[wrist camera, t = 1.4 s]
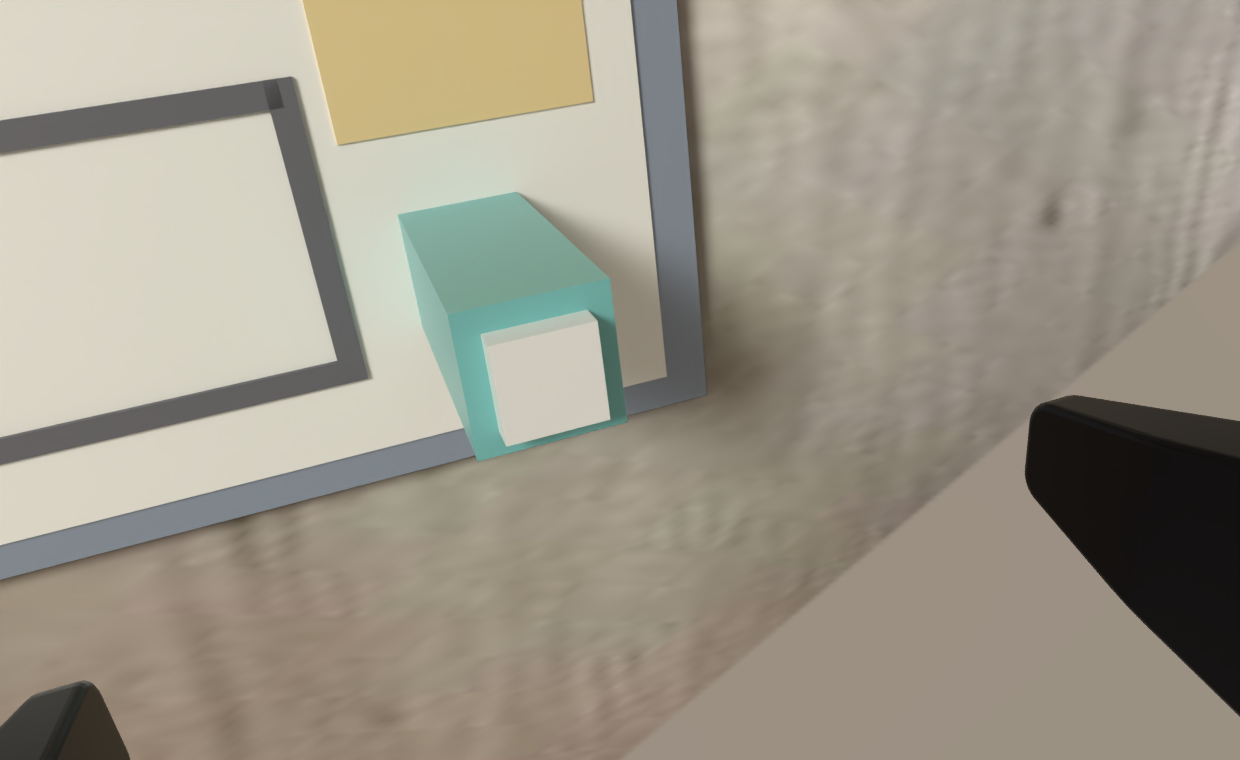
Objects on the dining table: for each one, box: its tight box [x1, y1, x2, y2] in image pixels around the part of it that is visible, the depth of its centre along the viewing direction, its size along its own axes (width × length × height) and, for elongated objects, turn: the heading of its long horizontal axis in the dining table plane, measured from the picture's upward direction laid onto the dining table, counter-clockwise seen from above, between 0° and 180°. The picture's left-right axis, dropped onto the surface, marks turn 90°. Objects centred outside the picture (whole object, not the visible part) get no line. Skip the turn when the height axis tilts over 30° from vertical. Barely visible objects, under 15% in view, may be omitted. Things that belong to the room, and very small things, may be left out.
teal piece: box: [398, 192, 627, 461], centre depth 16 cm, size 2×2×6 cm
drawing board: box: [0, 0, 707, 580], centre depth 18 cm, size 18×12×1 cm, turn 98°
